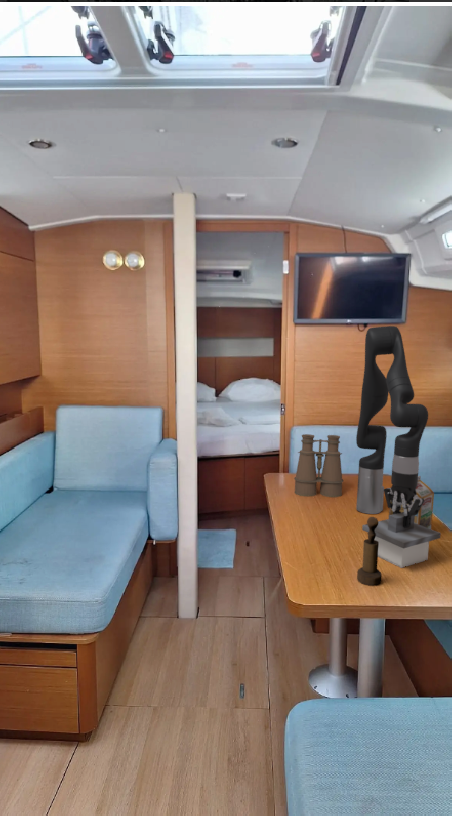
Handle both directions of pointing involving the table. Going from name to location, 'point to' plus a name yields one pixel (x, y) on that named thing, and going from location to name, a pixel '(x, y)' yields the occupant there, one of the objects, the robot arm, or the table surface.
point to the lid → (403, 531)
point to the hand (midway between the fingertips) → (401, 524)
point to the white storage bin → (402, 553)
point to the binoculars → (330, 471)
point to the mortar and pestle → (370, 557)
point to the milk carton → (427, 507)
